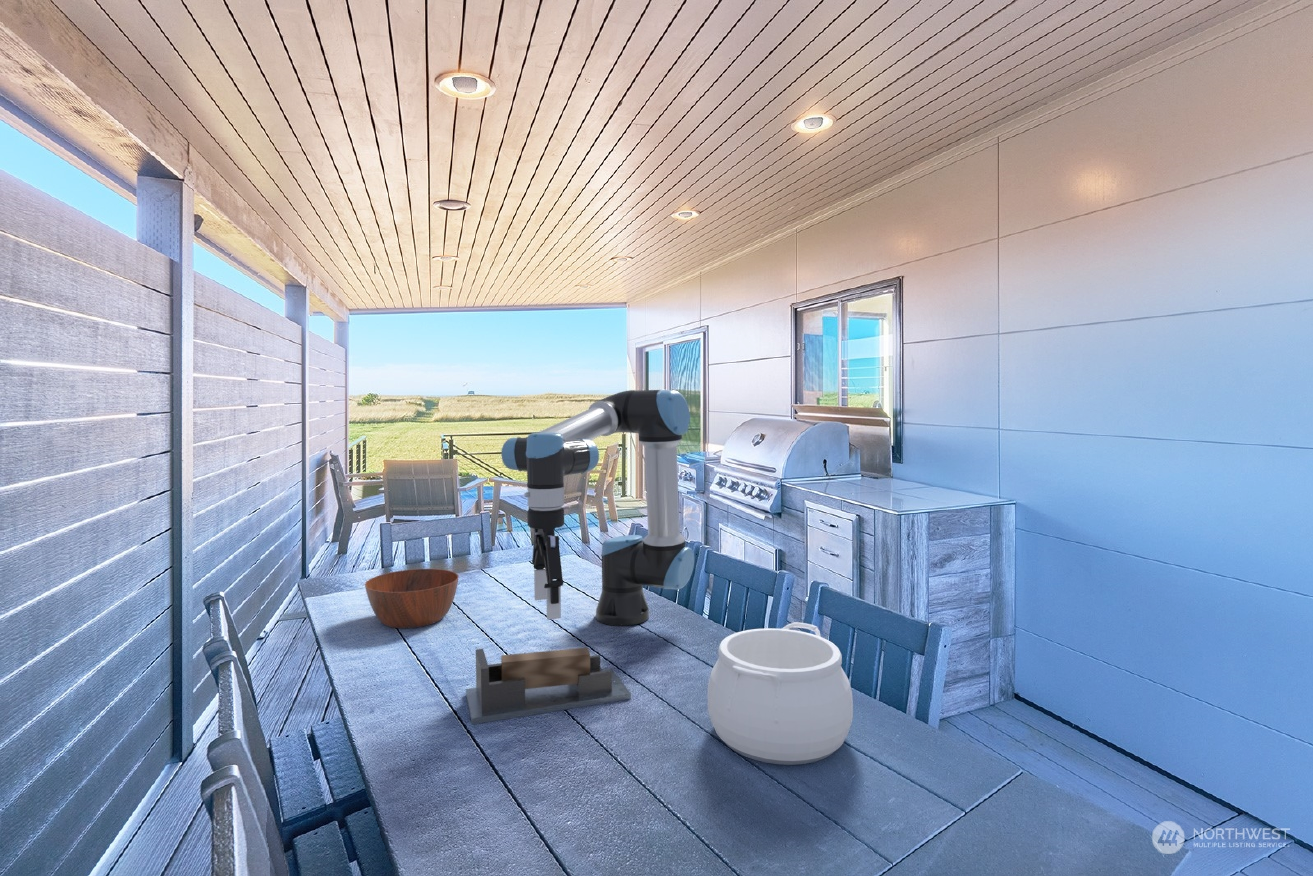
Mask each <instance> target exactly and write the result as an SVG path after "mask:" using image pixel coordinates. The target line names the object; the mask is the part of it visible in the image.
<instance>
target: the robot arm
mask: <svg viewBox="0 0 1313 876" xmlns="http://www.w3.org/2000/svg"><path fill="white" fill-rule="evenodd" d="M690 414H691V413H690V409H689V405H688V403H687V400H686V398H685V397H684V396H683V395H682V393H681V392H679V391H677V390H672V389H671V390H670V389H650V390H649V389H648V390H646V389H644V390H643V389H640V390H639V389H637V390H636V389H634V390H633V389H629V390H625V391H621V392H620V391H619V392H617V393H615V394H612V395H607V396H606V397H604V398H602V399H600V400H597V401H595V402H593V403H592V404H590V405H589V407H588V408H587V410H585V411H582V412H580V413H577V414H575V415H573V416H571V417H569V418H566V419H565V420H562V421H560V422H558V423H555V424H553V425H551V426H549V427H547V428H545V429H543V430H540V431H538V432H533V433H530V434H528V435H527V437H520V436H518V437H511V438H508V439H507V440H506V441H505V442H504V443H503V445H502V447H501V453H500V454H501V461H502V463H503V465H504V466H505V467H506V468H507V469H509V470H511V471H518V472H526V477H527V478H526V479H527V482H526V486H527V489H526V490H527V492H526V491H525V492H524V497H525V498H527V500H526V501H527V507H528V510H527V514H526V515H527V519H526V520H527V527H529V528H531V529H533V530H534V531H533V532H534V537H533V549H532V560H531V563H532V565H533V569H534V570H533V572H534V573H533V577H534V580H533V581H534V582H533V583H534V601H541V600H546V619H547V620H548V621H549V620H557V619H558V620H559V619H562V598H561V597H562V596H561V595H562V594H561V590H562V589H561V587H563V586H564V580H563V572H562V571H563V570H562V561H561V553H560V537H559V535H556V533H555V530H556V529H557V528H562V527H564V525H565V509H564V507H563V506H564V505H565V486H564V485H565V484H564V482H565V480H564V477H565V476H569V475H570V476H571V475H577V474H578V475H579V474H586V473H587V472H590V471H592V470H594V469H595V468H596V467H597V465H598V463H599V461H600V451H599V449H598V446H597V444H596V443H595V442H594V441H593V440H594V439H597V438H599V437H600V436H602V437H608V436H611V435H613V434H617V433H618V434H620V433H622V434H623V433H628V434H638V442H639V443H640V444H641V445H642V446H643V447H644V463H645V465H644V466H645V467H644V468H645V484H646V485H645V487H646V488H645V490H646V511H647V513H646V515H647V535H645V537H643V536H642V535H640V534H639V535H638V534H632V535H631V534H630V535H628V534H626V535H620V536H614V537H611V538H610V537H609V538H607V539H605V540H604V541H603V542H602V545H601V555H600V557H601V593H600V596H599V600H598V602H597V605H596V609H595V620H596V621H597V622H600V623H602V624H604V625H610V626H622V627H623V626H624V627H625V626H632V625H633V626H634V625H638V624H642V623H644V622H646V621H648V620H649V618H650V608H649V605H648V602H647V598H646V596H645V592H644V586H646V587H654V588H660V589H664V590H681V589H683V588H684V587H685V586H686V585H687V584H688V582H689V581H690V579H691V576H692V575H693V572H694V571H693V570H694V567H695V553H694V550H693V549H692V548H690V547H689V546H686V538H685V536H684V535H683V534H681V531H680V507H679V506H680V503H679V482H678V481H679V478H678V475H679V474H678V452H677V451H678V450H677V449H678V448H677V447H678V446H679V444H680V443H681V441H682V440H683V435H685V434H686V433H687V432H688V430H689V428H690V422H691V415H690Z"/></svg>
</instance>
